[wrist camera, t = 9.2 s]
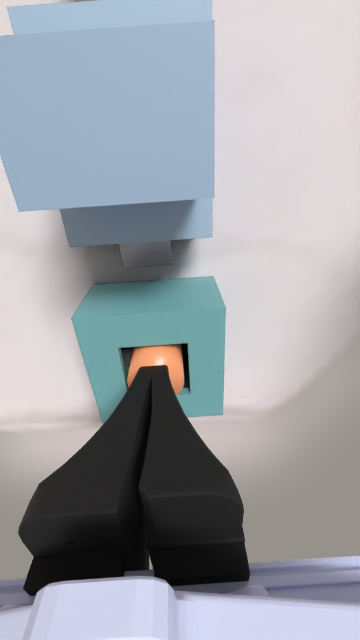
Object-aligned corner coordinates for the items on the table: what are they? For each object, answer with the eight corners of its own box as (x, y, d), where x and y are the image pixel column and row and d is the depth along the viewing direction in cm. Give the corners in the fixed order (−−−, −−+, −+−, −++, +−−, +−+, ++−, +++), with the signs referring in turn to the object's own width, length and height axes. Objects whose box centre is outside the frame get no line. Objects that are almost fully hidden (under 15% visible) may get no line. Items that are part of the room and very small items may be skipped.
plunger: (179, 315, 16) (182, 357, 13) (182, 353, 17) (185, 400, 14) (133, 319, 16) (122, 361, 13) (139, 356, 17) (131, 403, 14)
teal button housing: (213, 276, 16) (225, 307, 12) (213, 369, 19) (222, 415, 16) (89, 284, 16) (66, 318, 12) (112, 376, 19) (99, 423, 16)
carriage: (201, 36, 10) (245, -149, 4) (204, 224, 14) (231, 268, 8) (47, 46, 10) (-125, -122, 4) (88, 232, 14) (25, 282, 8)
